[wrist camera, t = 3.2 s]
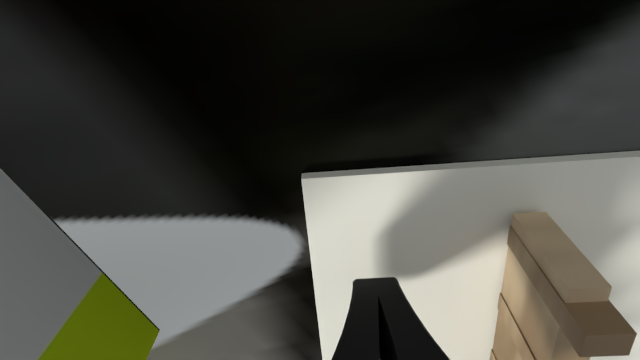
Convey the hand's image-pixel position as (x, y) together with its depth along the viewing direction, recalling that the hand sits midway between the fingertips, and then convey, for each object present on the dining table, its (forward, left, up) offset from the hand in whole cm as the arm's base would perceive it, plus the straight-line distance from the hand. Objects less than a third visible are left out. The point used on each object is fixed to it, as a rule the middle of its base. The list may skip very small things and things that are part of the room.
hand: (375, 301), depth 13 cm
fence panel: (-1, -5, -1) cm, 5 cm away
